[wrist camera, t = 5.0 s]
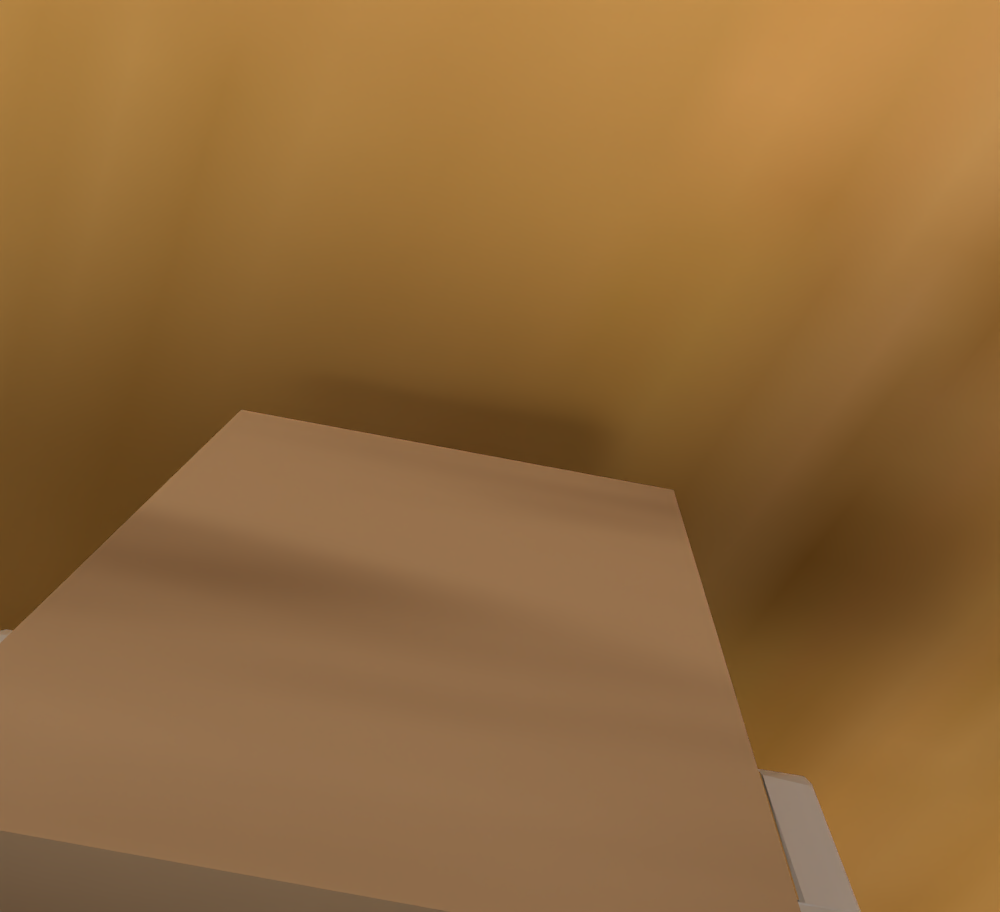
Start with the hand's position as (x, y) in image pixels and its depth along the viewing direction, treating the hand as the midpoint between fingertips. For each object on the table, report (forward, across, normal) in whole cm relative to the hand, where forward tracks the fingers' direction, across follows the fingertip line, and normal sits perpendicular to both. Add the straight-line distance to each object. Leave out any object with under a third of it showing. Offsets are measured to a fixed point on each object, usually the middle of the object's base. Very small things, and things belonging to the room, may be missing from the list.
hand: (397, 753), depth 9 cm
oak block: (+2, 0, 0) cm, 2 cm away
